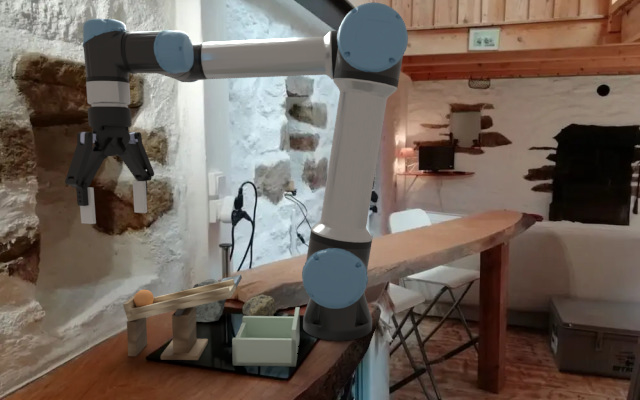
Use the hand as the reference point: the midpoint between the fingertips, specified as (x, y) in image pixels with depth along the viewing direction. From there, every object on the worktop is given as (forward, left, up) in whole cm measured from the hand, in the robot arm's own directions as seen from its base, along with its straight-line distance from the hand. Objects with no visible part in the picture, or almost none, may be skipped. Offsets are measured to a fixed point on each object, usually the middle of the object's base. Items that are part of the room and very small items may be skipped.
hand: (116, 217), depth 97 cm
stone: (-13, -16, -26) cm, 33 cm away
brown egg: (-6, +2, -15) cm, 17 cm away
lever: (-13, -1, -17) cm, 22 cm away
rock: (-25, -18, -26) cm, 40 cm away
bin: (-30, +2, -26) cm, 39 cm away
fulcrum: (-10, +2, -26) cm, 28 cm away
